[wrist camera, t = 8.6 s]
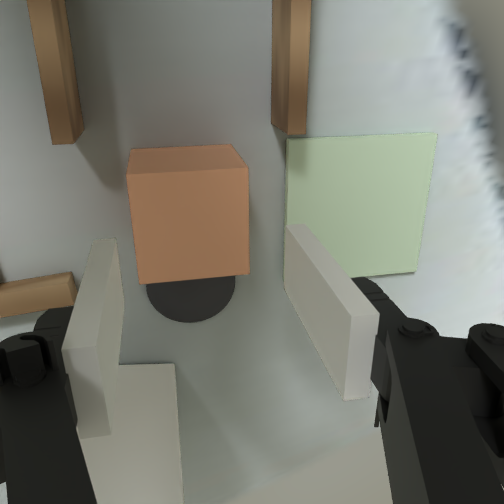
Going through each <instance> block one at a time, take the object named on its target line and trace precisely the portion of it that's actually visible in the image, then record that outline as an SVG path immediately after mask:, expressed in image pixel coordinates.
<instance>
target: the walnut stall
mask: <svg viewBox="0 0 504 504" xmlns="http://www.w3.org/2000/svg"><path fill="white" fill-rule="evenodd" d="M27 6H28V11H29V17H30V22H31V28H32V33H33V39H34V45H35V50H36V56H37V61H38V67H39V72H40V78H41V83H42V89H43V95H44V100H45V106H46V111H47V117H48V122H49V128H50V133H51V139H52V145H57V144H74V143H75V141H76V140H77V139H78V137H79V136H80V135H81V134H82V132H83V131H84V126H83V119H82V112H81V106H80V99H79V92H78V86H77V79H76V72H75V66H74V59H73V52H72V46H71V39H70V32H69V26H68V19H67V12H66V6H65V0H27ZM310 19H311V0H272V83H271V123H272V124H273V125H275V126H276V127H277V128H279V129H280V130H282V131H283V132H285V133H286V134H287V135H296V134H306V116H307V92H308V68H309V44H310Z"/></svg>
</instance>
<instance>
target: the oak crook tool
mask: <svg viewBox="0 0 504 504" xmlns="http://www.w3.org/2000/svg"><path fill="white" fill-rule="evenodd" d="M77 294H78V292H77V289H76V285H75V282H74V279H73V275H72V272H66V273H60V274H54V275H48V276H42V277H36V278H30V279H24V280H18V281H12V282H6V283H0V318H2V317H8V316H14V315H19V314H25V313H31V312H37V311H42V310H48V309H50V308H60V307H65V306H71V305H74V304H75V300H76V297H77Z"/></svg>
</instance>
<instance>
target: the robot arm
mask: <svg viewBox="0 0 504 504" xmlns="http://www.w3.org/2000/svg"><path fill="white" fill-rule="evenodd" d="M284 290H285V292H286V293H287V295H288V297H289V299H290V301H291V303H292V305H293V307H294V309H295V310H296V312H297V314H298V316H299V318H300V320H301V322H302V324H303V326H304V327H305V329H306V331H307V333H308V335H309V337H310V339H311V341H312V343H313V344H314V346H315V348H316V350H317V352H318V354H319V356H320V358H321V360H322V361H323V363H324V365H325V367H326V369H327V371H328V373H329V375H330V377H331V378H332V380H333V382H334V384H335V386H336V388H337V390H338V392H339V394H340V396H341V397H342V399H343V401H349V400H356V399H363V398H369V396H370V388H371V380H372V382H373V383H374V385H375V386H376V388H377V390H378V391H379V394H378V402H377V409H376V417H375V424H374V427H378V426H379V421H380V427H381V433H382V439H383V445H384V451H385V457H386V463H387V469H388V476H389V481H390V488H391V493H392V500H393V504H504V490H503V488H502V486H503V487H504V326H501V325H498V324H497V325H496V324H492V323H490V324H487V323H481V324H476V325H474V326H472V327H471V328H470V329H469V334H468V338H467V339H465V338H453V337H443V336H439V333H438V332H437V330H436V329H435V328H434V327H433V326H432V325H430V324H429V323H427V322H424V321H422V320H419V319H414V318H407V317H406V316H405V314H404V313H403V312H402V311H401V310H400V309H399V308H398V307H397V306H396V305H395V304H394V302H393V301H392V300H390V299H389V297H388V296H387V295H386V294H385V293H383V290H382V289H381V288H380V287H379V286H378V285H377V284H376V283H374V282H373V281H371V280H369V279H367V278H365V277H354V278H350V277H349V276H348V275H347V274H346V272H345V271H344V270H343V269H342V268H341V266H340V265H339V264H338V263H337V262H336V260H335V259H334V258H333V257H332V256H331V254H330V253H329V252H328V251H327V250H326V248H325V247H324V246H323V245H322V244H321V242H320V241H319V240H318V239H317V238H316V236H315V235H314V234H313V233H312V232H311V230H310V229H309V228H308V227H307V226H306V224H293V225H286V228H285V268H284ZM124 308H125V302H124V294H123V287H122V279H121V272H120V265H119V257H118V250H117V243H116V238H109V239H95V240H93V244H92V247H91V250H90V254H89V257H88V261H87V264H86V267H85V271H84V274H83V277H82V281H81V284H80V288H79V291H78V294H77V298H76V301H75V305H74V306H70V307H60V308H50V309H48V310H47V311H46V312H45V313H44V314H43V315H41V316H40V317H39V318H38V320H37V322H36V325H35V327H34V331H33V332H27V333H21V334H17V335H14V336H12V337H9V338H7V339H5V340H3V341H1V342H0V484H1V483H4V482H6V486H7V497H8V504H97V500H96V497H95V493H94V490H93V486H92V483H91V479H90V476H89V472H88V469H87V465H86V462H85V458H84V455H83V451H82V448H81V444H80V440H79V437H80V439H87V438H94V437H101V436H107V435H111V433H112V423H113V413H114V404H115V394H116V385H117V375H118V366H119V356H120V346H121V337H122V327H123V318H124ZM76 427H78V432H79V437H78V433H77V430H76ZM501 485H502V486H501Z"/></svg>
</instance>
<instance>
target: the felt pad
mask: <svg viewBox="0 0 504 504" xmlns="http://www.w3.org/2000/svg"><path fill="white" fill-rule="evenodd" d="M437 135H438V134H436V133H433V132H432V133H409V134H386V135H363V136H340V137H317V138H294V139H286V177H285V218H284V259H283V281H284V268H285V228H286V225H293V224H306V226H307V227H308V228H309V229H310V230H311V232H312V233H313V234H314V235H315V236H316V238H317V239H318V240H319V241H320V242H321V244H322V245H323V246H324V247H325V248H326V250H327V251H328V252H329V253H330V254H331V256H332V257H333V258H334V259H335V260H336V262H337V263H338V264H339V265H340V266H341V268H342V269H343V270H344V271H345V272H346V274H347V275H348V276H349V277H350V278H354V277H364V276H374V275H384V274H395V273H405V272H415V271H416V270H417V264H418V257H419V251H420V245H421V238H422V232H423V225H424V219H425V212H426V206H427V199H428V193H429V187H430V180H431V174H432V167H433V161H434V154H435V148H436V142H437Z"/></svg>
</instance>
